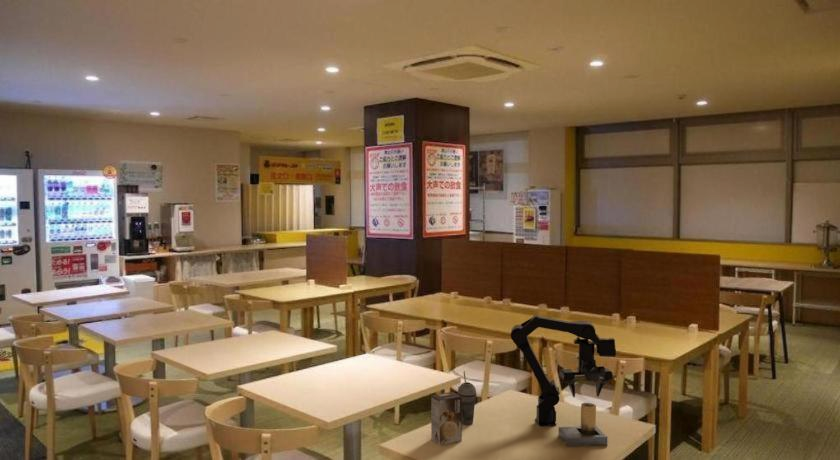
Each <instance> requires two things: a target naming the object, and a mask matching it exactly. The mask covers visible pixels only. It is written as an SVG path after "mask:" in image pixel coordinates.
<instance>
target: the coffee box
mask: <svg viewBox="0 0 840 460" xmlns="http://www.w3.org/2000/svg"><path fill="white" fill-rule="evenodd" d="M430 402H431V403H430V404H431V407H430V409H431V410H430V411H431V412H430V413H431V416H430V421H431V422H430V423H431V425H430V426H431V431H430V432H431V433H430V436H431V437H430V438H431V440H432V441H433V442H434V443H436V444H437V445H438V444H439V446H440V445H441V446H445V445H449V444H455V443H459V442H462V440H463V436H462V435H463V434H462V433H463V430H462V429H463V428H462V426H463V425H462V396H460V395H458V393H456V392H453V391H449V392H444V393H436V394H431V395H430Z"/></svg>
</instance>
